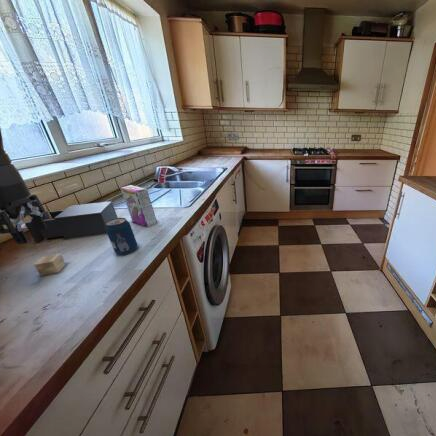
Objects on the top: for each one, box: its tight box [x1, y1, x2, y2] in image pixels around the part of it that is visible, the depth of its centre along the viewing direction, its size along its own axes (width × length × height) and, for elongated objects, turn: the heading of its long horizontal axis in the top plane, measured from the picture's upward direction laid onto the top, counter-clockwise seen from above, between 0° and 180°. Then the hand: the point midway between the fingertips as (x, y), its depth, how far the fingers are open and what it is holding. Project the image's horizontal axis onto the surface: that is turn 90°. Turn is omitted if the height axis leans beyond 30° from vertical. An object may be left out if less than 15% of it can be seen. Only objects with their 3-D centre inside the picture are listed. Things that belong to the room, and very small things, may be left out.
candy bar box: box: [120, 184, 158, 227], centre depth 98 cm, size 11×5×16 cm, turn 63°
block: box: [33, 253, 67, 277], centre depth 71 cm, size 4×4×4 cm
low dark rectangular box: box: [54, 200, 119, 240], centre depth 94 cm, size 15×13×10 cm
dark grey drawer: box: [22, 209, 65, 242], centre depth 91 cm, size 18×11×8 cm, turn 109°
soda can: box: [105, 217, 138, 256], centre depth 79 cm, size 7×7×12 cm
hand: (33, 235), depth 67 cm, fingers open, 8 cm apart
